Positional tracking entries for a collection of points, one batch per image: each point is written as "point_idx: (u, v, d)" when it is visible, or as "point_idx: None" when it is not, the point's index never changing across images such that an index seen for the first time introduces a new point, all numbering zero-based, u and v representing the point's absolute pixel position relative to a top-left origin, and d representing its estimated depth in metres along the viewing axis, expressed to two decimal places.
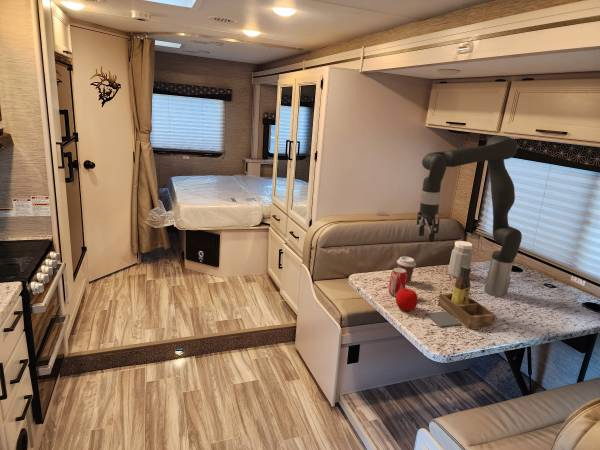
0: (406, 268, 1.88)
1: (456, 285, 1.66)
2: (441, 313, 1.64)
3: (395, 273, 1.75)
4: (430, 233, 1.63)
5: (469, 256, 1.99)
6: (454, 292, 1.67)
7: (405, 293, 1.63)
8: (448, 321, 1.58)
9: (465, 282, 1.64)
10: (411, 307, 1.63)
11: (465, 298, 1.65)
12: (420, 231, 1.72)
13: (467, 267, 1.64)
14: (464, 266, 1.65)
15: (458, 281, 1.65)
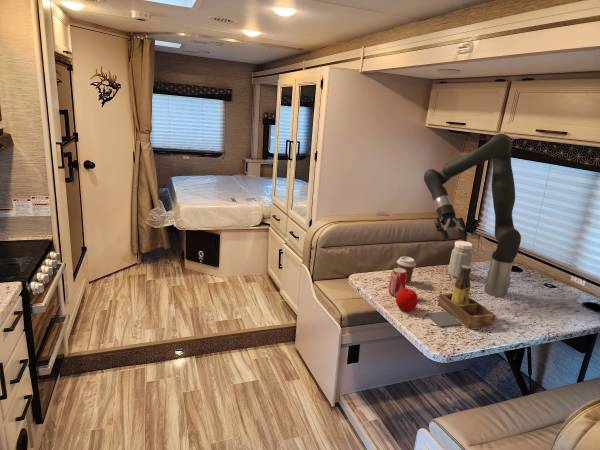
0: (406, 268, 1.88)
1: (456, 285, 1.66)
2: (441, 313, 1.64)
3: (395, 273, 1.75)
4: (441, 232, 1.77)
5: (469, 256, 1.99)
6: (454, 292, 1.67)
7: (405, 293, 1.63)
8: (448, 321, 1.58)
9: (465, 282, 1.64)
10: (411, 307, 1.63)
11: (465, 298, 1.65)
12: (460, 235, 1.78)
13: (467, 267, 1.64)
14: (464, 266, 1.65)
15: (458, 281, 1.65)
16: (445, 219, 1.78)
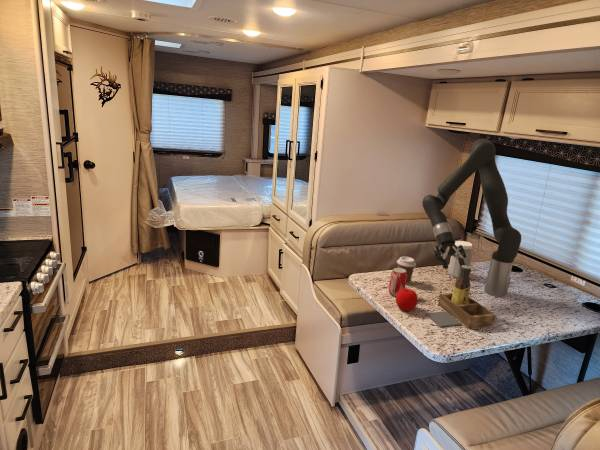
0: (406, 268, 1.88)
1: (456, 285, 1.66)
2: (441, 313, 1.64)
3: (395, 273, 1.75)
4: None
5: (469, 256, 1.99)
6: (454, 292, 1.67)
7: (405, 293, 1.63)
8: (448, 321, 1.58)
9: (464, 282, 1.64)
10: (411, 307, 1.63)
11: (465, 298, 1.65)
12: (460, 263, 1.74)
13: (467, 267, 1.64)
14: (464, 266, 1.65)
15: (458, 281, 1.65)
16: (444, 247, 1.73)
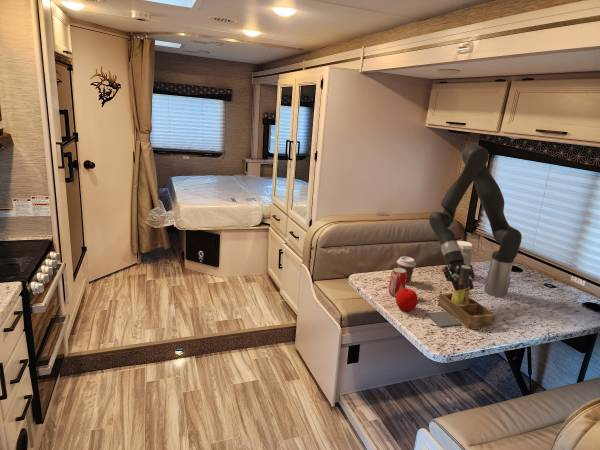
0: (406, 268, 1.88)
1: None
2: (441, 313, 1.64)
3: (395, 273, 1.75)
4: None
5: (469, 256, 1.99)
6: (454, 292, 1.67)
7: (405, 293, 1.63)
8: (448, 321, 1.58)
9: (464, 282, 1.64)
10: (411, 307, 1.63)
11: (465, 298, 1.65)
12: None
13: (467, 267, 1.64)
14: (464, 266, 1.65)
15: (458, 281, 1.65)
16: (453, 267, 1.68)
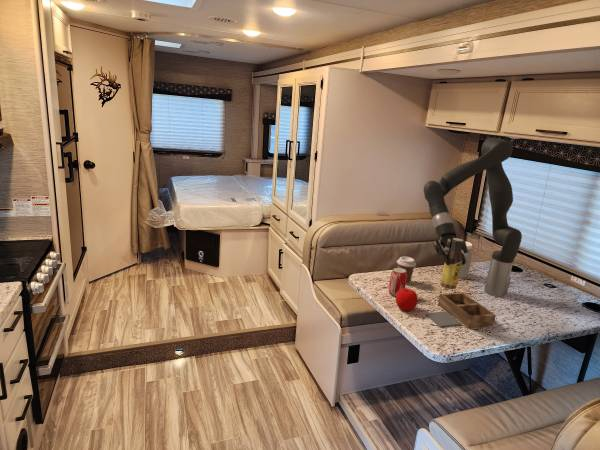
0: (406, 268, 1.88)
1: None
2: (441, 313, 1.64)
3: (395, 273, 1.75)
4: None
5: (469, 256, 1.99)
6: (445, 267, 1.54)
7: (405, 293, 1.63)
8: (448, 321, 1.58)
9: (456, 255, 1.51)
10: (411, 307, 1.63)
11: (456, 273, 1.53)
12: None
13: (459, 240, 1.51)
14: (456, 239, 1.52)
15: (449, 255, 1.53)
16: (445, 240, 1.55)
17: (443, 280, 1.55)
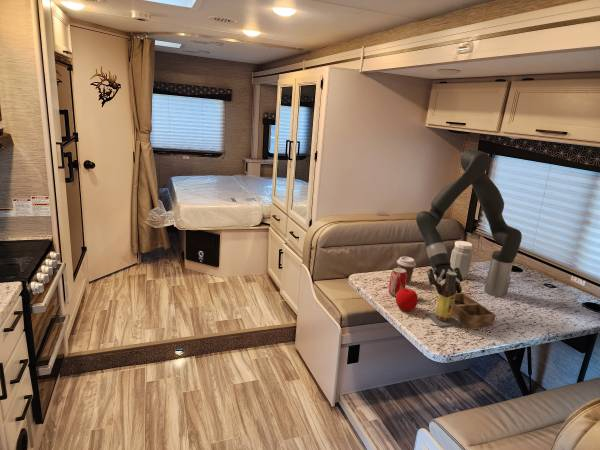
0: (406, 268, 1.88)
1: None
2: None
3: (395, 273, 1.75)
4: None
5: (469, 256, 1.99)
6: (439, 300, 1.58)
7: (405, 293, 1.63)
8: (448, 321, 1.58)
9: (450, 289, 1.54)
10: (411, 307, 1.63)
11: (450, 306, 1.56)
12: (456, 288, 1.58)
13: (453, 273, 1.54)
14: (450, 272, 1.55)
15: (443, 288, 1.56)
16: (439, 270, 1.58)
17: (437, 312, 1.58)
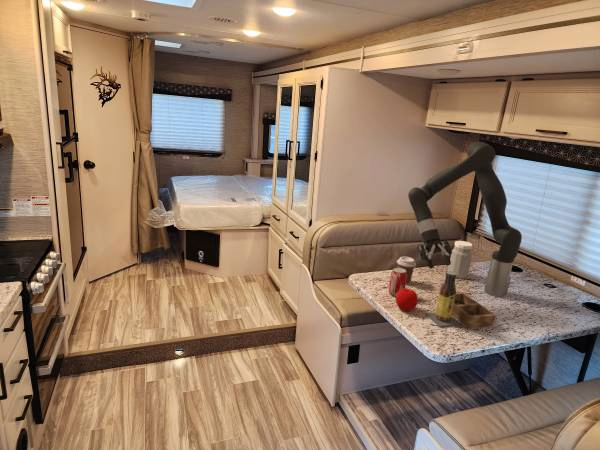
0: (406, 268, 1.88)
1: (441, 292, 1.57)
2: None
3: (395, 273, 1.75)
4: None
5: (469, 256, 1.99)
6: (439, 300, 1.58)
7: (405, 293, 1.63)
8: (448, 321, 1.58)
9: (450, 289, 1.55)
10: (411, 307, 1.63)
11: (450, 306, 1.56)
12: (445, 260, 1.70)
13: (452, 273, 1.55)
14: (449, 272, 1.55)
15: (443, 288, 1.56)
16: (430, 245, 1.68)
17: (437, 312, 1.58)
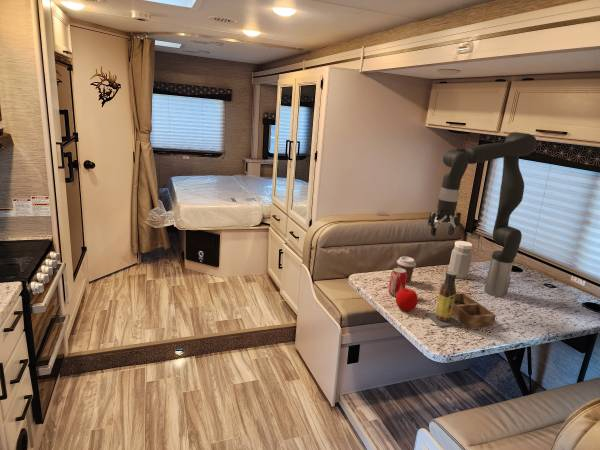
0: (406, 268, 1.88)
1: (441, 292, 1.57)
2: None
3: (395, 273, 1.75)
4: (431, 225, 1.68)
5: (469, 256, 1.99)
6: (439, 300, 1.58)
7: (405, 293, 1.63)
8: (448, 321, 1.58)
9: (450, 289, 1.55)
10: (411, 307, 1.63)
11: (450, 306, 1.56)
12: (449, 229, 1.71)
13: (452, 273, 1.55)
14: (449, 272, 1.55)
15: (443, 288, 1.56)
16: (442, 215, 1.65)
17: (437, 312, 1.58)
